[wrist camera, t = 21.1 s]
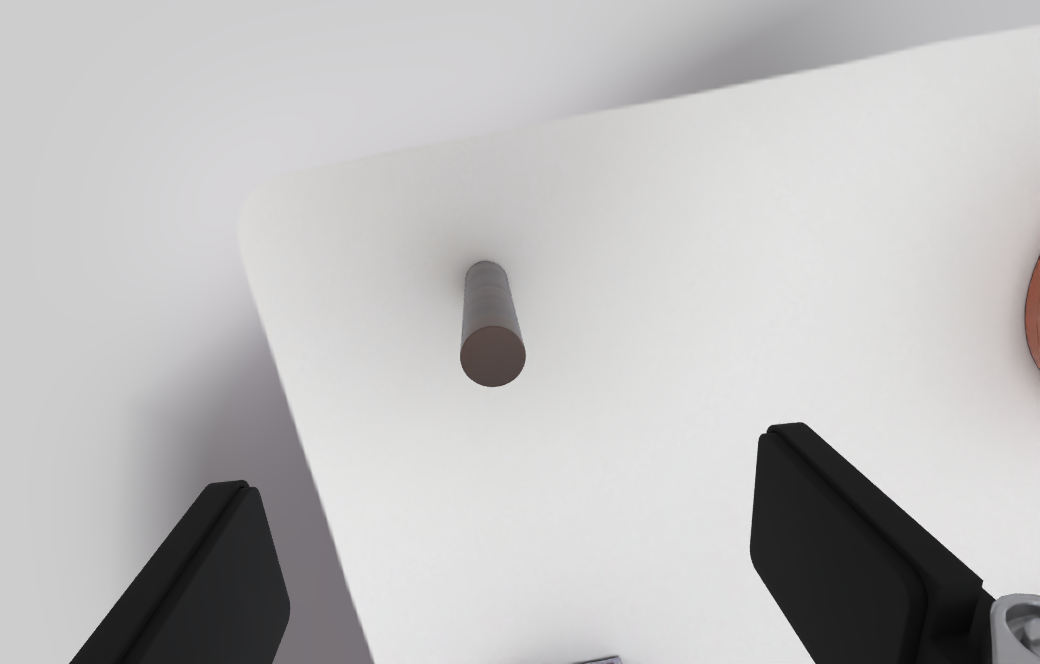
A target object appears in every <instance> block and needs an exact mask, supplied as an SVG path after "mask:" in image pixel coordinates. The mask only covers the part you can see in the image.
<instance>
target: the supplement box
mask: <svg viewBox="0 0 1040 664" xmlns="http://www.w3.org/2000/svg"><path fill="white" fill-rule="evenodd" d="M586 664H622V663H621V659H620V658H619V657H616V658H611V659H608V660H603V661H597V662H592V663H586Z"/></svg>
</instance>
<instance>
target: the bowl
mask: <svg viewBox="0 0 1040 664" xmlns="http://www.w3.org/2000/svg"><path fill="white" fill-rule="evenodd" d="M1025 326H1026V334H1027V341H1028V344H1029V348H1030V351H1031V354H1032V356H1033V358H1034V361H1035V363H1036V365H1037V366H1038V368H1039V369H1040V258H1039V260H1038V263H1037V265H1036V268H1035V270H1034V273H1033V276H1032V280H1031V283H1030V287H1029V290H1028V297H1027V303H1026V316H1025Z"/></svg>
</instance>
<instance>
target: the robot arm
mask: <svg viewBox="0 0 1040 664" xmlns="http://www.w3.org/2000/svg"><path fill="white" fill-rule="evenodd" d="M750 556H751V560H752V563H753V565H754V568H755V569H756V571H757V573H758V574H759V576H760V577H761V579H762V581H763V582H764V584H765V585H766V587H767V588H768V590H769V592H770V593H771V595H772V596H773V598H774V599H775V601H776V603H777V604H778V606H779V607H780V609H781V610H782V612H783V613H784V615H785V617H786V618H787V620H788V621H789V623H790V624H791V626H792V628H793V629H794V631H795V632H796V634H797V635H798V637H799V639H800V640H801V642H802V643H803V645H804V646H805V648H806V649H807V651H808V653H809V654H810V656H811V657H812V659H813V660H814V662H815V664H1040V596H1038V595H1033V594H1011V595H1006V596H1001V597H1000V598H999V599H997V600H995V599H994V598H993V597H992V596H991V595H990V594H989V593H987V592H986V591H985V590H984V589H983V588H982V584H983V580H982V579H981V578H980V577H979V576H977V575H976V574H975V573H974V572H973V571H972V570H971V569H969V568H968V567H967V566H966V565H965V564H964V563H963V562H962V561H960V560H959V559H958V558H957V557H956V556H955V555H954V554H952V553H951V552H950V551H949V550H948V549H947V548H946V547H945V546H943V545H942V544H941V543H940V542H939V541H938V540H937V539H935V538H934V537H933V536H932V535H931V534H930V533H929V532H928V531H926V530H925V529H924V528H923V527H922V526H921V525H920V524H918V523H917V522H916V521H915V520H914V519H913V518H912V517H911V516H909V515H908V514H907V513H906V512H905V511H904V510H903V509H901V508H900V507H899V506H898V505H897V504H896V503H895V502H894V501H892V500H891V499H890V498H889V497H888V496H887V495H886V494H884V493H883V492H882V491H881V490H880V489H879V488H878V487H877V486H875V485H874V484H873V483H872V482H871V481H870V480H869V479H867V478H866V477H865V476H864V475H863V474H862V473H861V472H859V471H858V470H857V469H856V468H855V467H854V466H853V465H852V464H850V463H849V462H848V461H847V460H846V459H845V458H844V457H842V456H841V455H840V454H839V453H838V452H837V451H836V450H835V449H833V448H832V447H831V446H830V445H829V444H828V443H827V442H825V441H824V440H823V439H822V438H821V437H820V436H819V435H818V434H816V433H815V432H814V431H813V430H812V429H811V428H810V427H808V426H807V425H806V424H804V423H802V422H797V423H787V424H778V425H771V426H770V427H769V428H768V430H767V433H766V434H762V435H760V437H759V441H758V452H757V465H756V477H755V489H754V502H753V514H752V527H751V539H750ZM289 615H290V601H289V597H288V593H287V590H286V586H285V582H284V579H283V575H282V572H281V568H280V565H279V561H278V557H277V554H276V550H275V546H274V543H273V539H272V536H271V532H270V528H269V525H268V521H267V517H266V514H265V510H264V507H263V503H262V499H261V496H260V493H259V490H258V489H257V488H256V487H249V485H248V483H247V482H246V481H244V480H238V481H228V482H219V483H211V484H209V485H208V486H207V487H205V489H204V490H203V491H202V493H201V494H200V495H199V496H198V498H197V499H196V500H195V502H194V503H193V504H192V506H191V507H190V508H189V509H188V511H187V512H186V513H185V515H184V516H183V517H182V519H181V520H180V521H179V522H178V524H177V525H176V526H175V528H174V529H173V530H172V531H171V533H170V534H169V535H168V537H167V538H166V539H165V541H164V542H163V543H162V544H161V546H160V547H159V548H158V550H157V551H156V552H155V553H154V555H153V556H152V557H151V559H150V560H149V561H148V562H147V564H146V565H145V566H144V568H143V569H142V570H141V572H140V573H139V574H138V576H137V577H136V578H135V579H134V581H133V582H132V583H131V585H130V586H129V587H128V588H127V590H126V591H125V592H124V594H123V595H122V596H121V597H120V599H119V600H118V601H117V603H116V604H115V605H114V607H113V608H112V609H111V610H110V612H109V613H108V614H107V616H106V617H105V618H104V619H103V621H102V622H101V623H100V625H99V626H98V627H97V628H96V630H95V631H94V633H93V634H92V635H91V636H90V637H89V639H88V640H87V641H86V643H85V644H84V645H83V647H82V648H81V649H80V650H79V652H78V653H77V654H76V656H75V657H74V658H73V659H72V661H71V662H70V663H69V664H272V662H273V660H274V657H275V655H276V652H277V649H278V647H279V644H280V642H281V639H282V637H283V634H284V631H285V629H286V626H287V624H288V621H289Z"/></svg>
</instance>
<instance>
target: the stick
mask: <svg viewBox="0 0 1040 664" xmlns="http://www.w3.org/2000/svg"><path fill="white" fill-rule="evenodd" d="M525 359H526V353H525V347H524V343H523V339H522V335H521V331H520V327H519V323H518V319H517V315H516V311H515V307H514V303H513V299H512V295H511V291H510V287H509V283H508V279H507V275H506V273H505V271H504V270H503V269H502V267H500V266H499V265H498V264H496V263H494V262H490V261H483V262H479V263H477V264H475V265H474V266H472V267H471V268H470V270H469V271H468V273H467V275H466V279H465V293H464V308H463V323H462V337H461V352H460V361H461V365H462V368H463V370H464V372H465V373H466V375H467V376H468V377H469V378H470V379H471V380H473V381H474V382H476V383H478V384H480V385H483V386H487V387H497V386H502V385H505V384H507V383H509V382H511V381H513V380H514V379H515V378H516V377H517V376H518V375H519V374H520V372H521V371H522V369H523V367H524V364H525Z"/></svg>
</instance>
